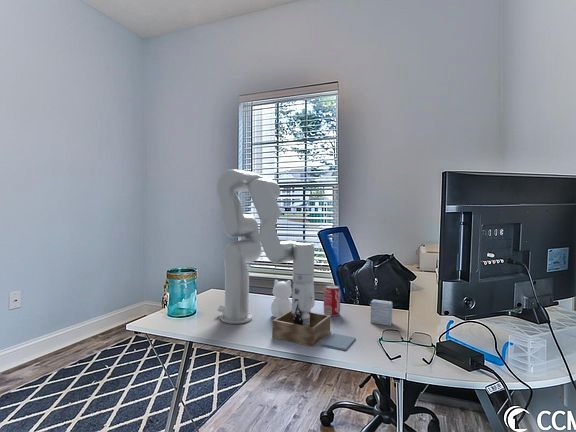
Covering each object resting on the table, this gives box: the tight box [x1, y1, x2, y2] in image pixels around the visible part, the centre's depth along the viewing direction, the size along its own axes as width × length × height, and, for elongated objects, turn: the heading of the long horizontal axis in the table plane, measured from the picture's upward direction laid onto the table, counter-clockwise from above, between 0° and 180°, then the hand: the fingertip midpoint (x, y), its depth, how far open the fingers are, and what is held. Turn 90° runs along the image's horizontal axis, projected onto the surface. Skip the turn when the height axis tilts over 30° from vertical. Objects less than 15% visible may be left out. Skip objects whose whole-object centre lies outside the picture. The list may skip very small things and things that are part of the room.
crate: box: [271, 310, 332, 348], centre depth 121 cm, size 16×16×6 cm
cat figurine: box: [270, 279, 293, 319], centre depth 140 cm, size 9×12×15 cm
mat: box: [321, 333, 357, 352], centre depth 114 cm, size 8×11×1 cm
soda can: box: [323, 284, 341, 317], centre depth 144 cm, size 7×7×12 cm
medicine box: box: [369, 298, 393, 327], centre depth 135 cm, size 8×4×9 cm, turn 65°
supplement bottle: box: [297, 309, 310, 327], centre depth 121 cm, size 5×5×10 cm
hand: (302, 327), depth 121 cm, fingers closed on supplement bottle, 5 cm apart
